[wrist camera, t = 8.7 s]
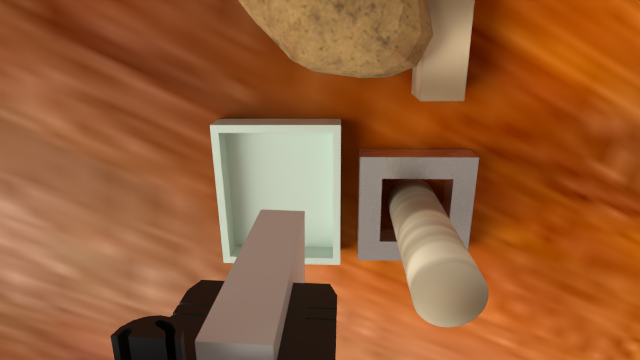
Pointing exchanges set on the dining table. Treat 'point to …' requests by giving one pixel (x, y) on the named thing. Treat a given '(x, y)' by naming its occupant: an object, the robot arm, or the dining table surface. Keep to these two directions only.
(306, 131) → the tray
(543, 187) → the dining table surface
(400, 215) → the dowel
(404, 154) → the collar
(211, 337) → the robot arm
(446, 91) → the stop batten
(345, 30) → the potato
